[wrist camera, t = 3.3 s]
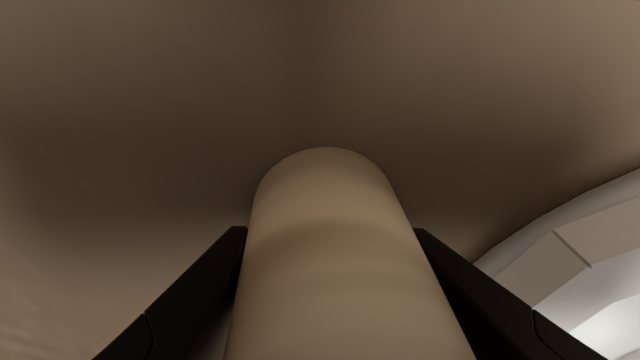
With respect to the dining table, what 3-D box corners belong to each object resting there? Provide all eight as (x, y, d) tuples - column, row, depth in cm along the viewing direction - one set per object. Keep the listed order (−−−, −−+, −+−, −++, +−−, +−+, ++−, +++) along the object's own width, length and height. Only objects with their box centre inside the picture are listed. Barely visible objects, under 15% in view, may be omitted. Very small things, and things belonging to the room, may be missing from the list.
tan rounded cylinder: (381, 263, 12) (475, 557, 6) (255, 263, 11) (209, 579, 5) (405, 149, 10) (599, 429, 3) (250, 144, 9) (162, 450, 3)
